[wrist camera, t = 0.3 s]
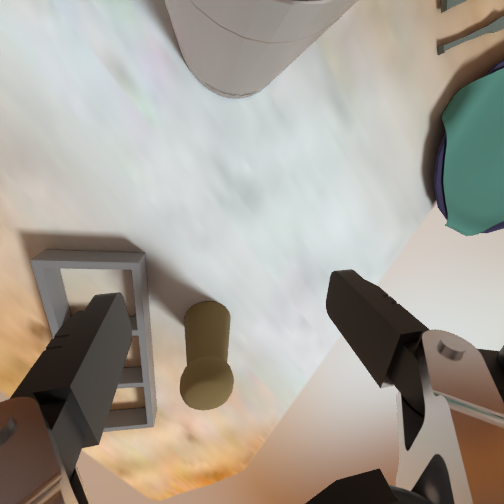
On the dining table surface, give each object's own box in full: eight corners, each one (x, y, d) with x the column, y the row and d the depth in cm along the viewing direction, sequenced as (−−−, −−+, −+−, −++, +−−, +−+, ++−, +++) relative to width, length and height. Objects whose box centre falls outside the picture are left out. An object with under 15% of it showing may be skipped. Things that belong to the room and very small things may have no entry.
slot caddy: (46, 249, 25) (30, 260, 23) (145, 252, 27) (139, 262, 25) (89, 415, 36) (81, 434, 34) (156, 410, 38) (153, 427, 36)
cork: (175, 327, 32) (160, 412, 22) (198, 294, 30) (193, 369, 20) (215, 342, 34) (218, 425, 24) (239, 311, 32) (252, 387, 22)
